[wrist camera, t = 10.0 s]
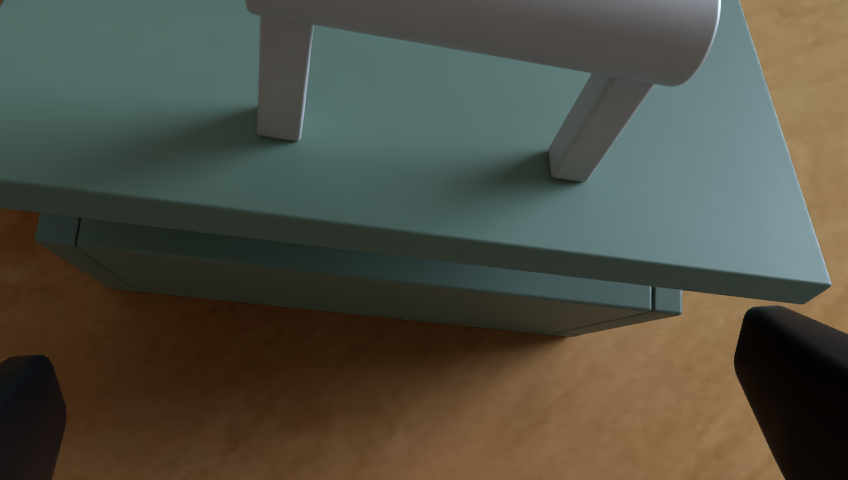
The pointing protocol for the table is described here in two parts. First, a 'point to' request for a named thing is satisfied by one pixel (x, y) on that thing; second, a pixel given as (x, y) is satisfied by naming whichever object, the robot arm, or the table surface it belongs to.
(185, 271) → the bin
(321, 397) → the table surface
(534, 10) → the bin lid
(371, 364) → the table surface
